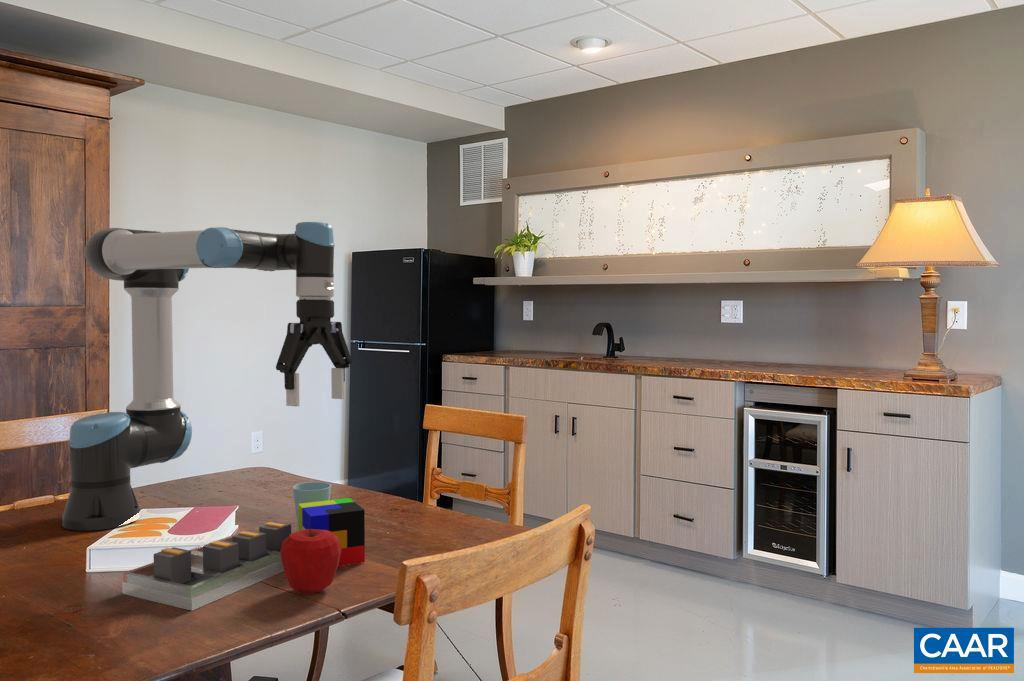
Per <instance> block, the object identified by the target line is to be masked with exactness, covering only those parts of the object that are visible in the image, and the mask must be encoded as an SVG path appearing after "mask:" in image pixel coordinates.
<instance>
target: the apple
mask: <svg viewBox="0 0 1024 681" xmlns="http://www.w3.org/2000/svg"><path fill="white" fill-rule="evenodd" d="M341 550H342V549H341V546H340V543H339V540H338V538H337V537H336V536H335V535H334V534H333V533H332V532H331V531H327V530H317V529H310V528H309V529H304V530H300V531H298V530H296V531H294V532H291V534H290V535H289V536H288V537H287V538H286V539H285V540H284V541H283V542H282V546H281V551H280V555H281V560H282V564H283V569H284V571H283V572H284V574H285V578H286V581H287V583H288V585H289V588H291V589H292V590H294V591H296V592H297V593H300V594H303V595H309V594H317V593H321V592H322V591H324V590H325V589H326V588H328V587H329V586H330V585H331V584H332V583H333V581H334V578H335V575H336V573H337V569H338V567H339V566H338V564H339V559H340V554H341Z"/></svg>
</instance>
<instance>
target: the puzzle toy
mask: <svg viewBox="0 0 1024 681" xmlns="http://www.w3.org/2000/svg"><path fill="white" fill-rule="evenodd" d="M365 513H366V512H365V508H363V507H361V505H359V504H358V503H356V502H355V501H354V500H352V498H350V497H346V498H337V499H331V500H327V501H318V502H310V503H301V504H298V525H297V531H300V530H304V529H309V528H310V529H317V530H327V531H331V532H332V533H333V534H334V535H335V536H336V537H337V538H338V540H339V543H340V546H341V549H342V550H341V554H340V559H339V564H338V567H342V565H345V566H349V565H348V564H351V565H355V564H354V563H358V564H362V563H361V562H366V561H365V559H366V558H365V557H366V554H365V553H366V550H365V549H366V548H365V546H366V541H365V538H366V533H365V532H366V531H365V518H366V517H365Z"/></svg>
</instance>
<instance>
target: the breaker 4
mask: <svg viewBox="0 0 1024 681" xmlns="http://www.w3.org/2000/svg"><path fill="white" fill-rule="evenodd" d="M258 532H260V533H266V549H268V550H274V551H280V550H281V546H282V542H283V541H284V540H285V539H286V538H287V537H288V536H289V535H290V534H291V533H292V524H291V523H286V522H285V523H284V522H280V521H279V522H278V521H269V522H266V523H265V524H263V525H261V526H258Z"/></svg>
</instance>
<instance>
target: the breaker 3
mask: <svg viewBox="0 0 1024 681" xmlns="http://www.w3.org/2000/svg"><path fill="white" fill-rule="evenodd" d="M238 533H239V534H238ZM238 533H237V534H238V535H235V534H234V535H235V536H232V535H231V536H232V542H234V543H238V554H239V559H240V560H245V561H250V562H253V561H255V560H258V559H260V558H263V557H265V556H266V533H260V532H259V531H253V530H247V531H246V530H242V531H240V532H238Z"/></svg>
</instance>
